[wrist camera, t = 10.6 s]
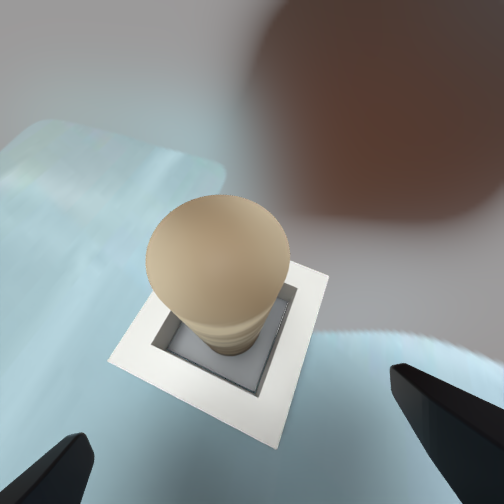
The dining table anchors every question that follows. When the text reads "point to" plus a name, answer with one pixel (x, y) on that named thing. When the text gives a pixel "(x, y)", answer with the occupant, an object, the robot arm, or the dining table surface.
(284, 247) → the peg
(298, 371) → the well block
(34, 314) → the dining table surface
